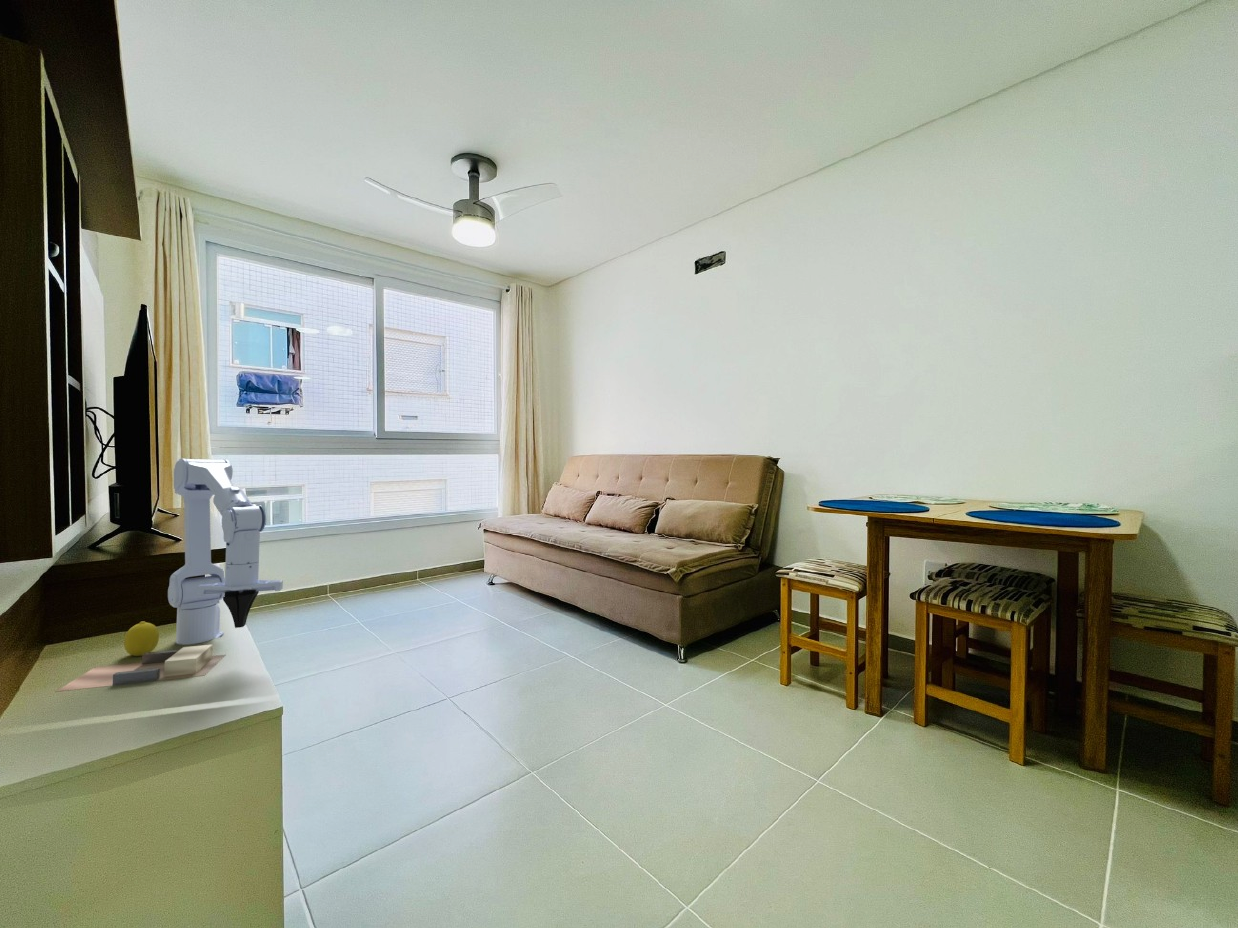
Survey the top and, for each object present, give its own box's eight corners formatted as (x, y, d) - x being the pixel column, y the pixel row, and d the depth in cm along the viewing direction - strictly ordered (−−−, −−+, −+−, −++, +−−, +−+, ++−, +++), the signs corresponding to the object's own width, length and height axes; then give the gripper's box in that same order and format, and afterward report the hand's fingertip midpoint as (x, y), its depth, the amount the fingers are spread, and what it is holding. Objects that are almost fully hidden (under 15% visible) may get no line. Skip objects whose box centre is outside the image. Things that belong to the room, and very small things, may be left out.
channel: (144, 662, 105) (145, 652, 105) (183, 658, 107) (184, 649, 107) (112, 685, 94) (112, 674, 94) (156, 680, 96) (156, 670, 96)
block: (183, 661, 106) (183, 647, 106) (212, 658, 108) (212, 644, 108) (164, 676, 98) (164, 661, 98) (195, 673, 100) (196, 658, 100)
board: (94, 671, 102) (94, 667, 102) (226, 658, 110) (226, 654, 110) (54, 695, 91) (55, 691, 91) (204, 679, 99) (204, 675, 99)
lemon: (136, 663, 106) (138, 626, 106) (116, 661, 107) (117, 623, 107) (165, 654, 111) (166, 618, 111) (145, 652, 112) (146, 616, 112)
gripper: (192, 567, 100) (189, 635, 100) (277, 564, 105) (275, 628, 105) (206, 561, 106) (203, 625, 106) (285, 558, 112) (283, 619, 112)
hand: (240, 626), depth 106 cm, fingers closed
